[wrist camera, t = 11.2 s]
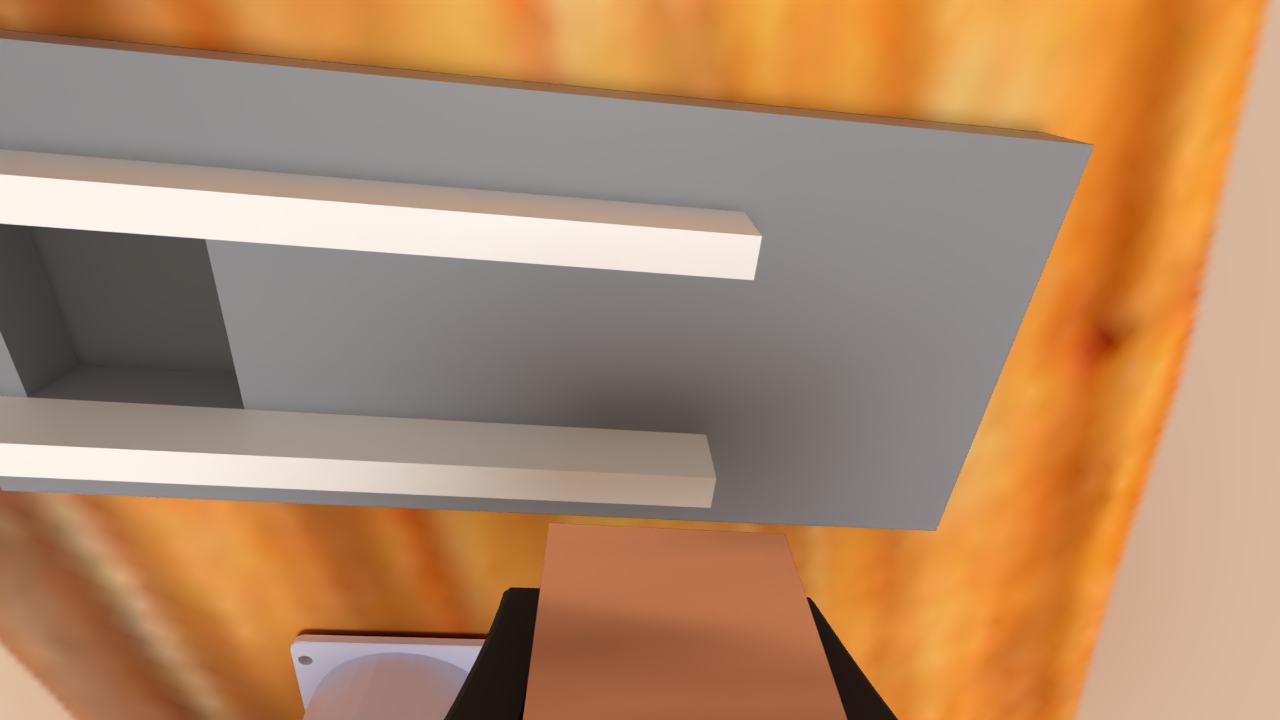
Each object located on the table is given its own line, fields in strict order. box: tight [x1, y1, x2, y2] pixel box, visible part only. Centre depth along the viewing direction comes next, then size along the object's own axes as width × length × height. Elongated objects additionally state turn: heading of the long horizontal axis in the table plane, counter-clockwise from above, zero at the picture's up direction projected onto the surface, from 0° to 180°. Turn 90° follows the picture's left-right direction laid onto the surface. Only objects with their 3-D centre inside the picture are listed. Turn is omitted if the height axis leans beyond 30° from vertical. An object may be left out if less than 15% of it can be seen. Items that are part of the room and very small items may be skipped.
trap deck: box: [0, 30, 1094, 531], centre depth 17 cm, size 12×28×2 cm, turn 85°
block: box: [523, 523, 847, 720], centre depth 10 cm, size 4×4×4 cm
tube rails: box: [0, 149, 762, 508], centre depth 15 cm, size 8×20×2 cm, turn 85°
